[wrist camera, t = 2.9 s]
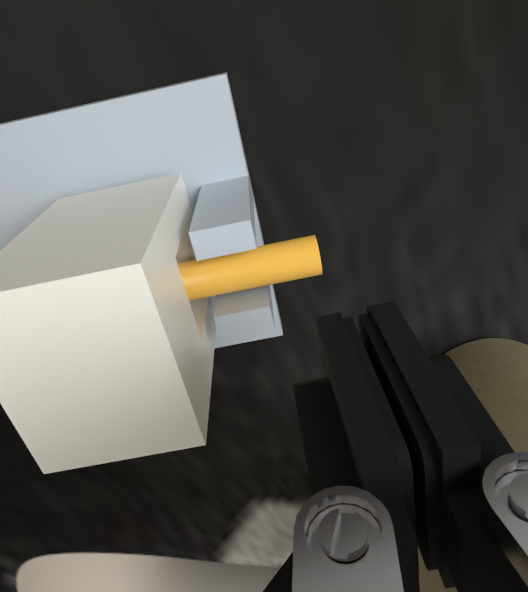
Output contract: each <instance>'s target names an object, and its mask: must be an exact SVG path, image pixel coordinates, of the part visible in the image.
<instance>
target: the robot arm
mask: <svg viewBox="0 0 528 592" xmlns="http://www.w3.org/2000/svg"><path fill="white" fill-rule="evenodd" d="M315 322H316V328H317V334H318V340H319V346H320V351H321V357H322V363H323V369H324V374H325V378H322V379H317V380H312V381H307V382H302V383H297V384H293V388H294V394H295V399H296V405H297V410H298V416H299V421H300V427H301V432H302V438H303V443H304V449H305V454H306V460H307V465H308V471H309V476H310V482H311V487H312V493H313V495H312V496H311V497H310V498H309V499H308V500H307V501H306V502H305V503H304V504H303V505H302V507H301V509H300V511H299V513H298V514H297V516H296V521H295V526H294V540H293V552H292V554H291V555H290V556H289V558H288V559H287V560H286V562H285V563H284V564H283V566H282V567H281V568H280V570H279V571H278V572H277V574H276V575H275V576H274V577H273V579H272V580H271V582H270V583H269V584H268V585H267V587H266V588H265V590H264V591H263V592H420V586H419V560H418V548H419V551H420V553H421V556H422V559H423V562H424V564H425V566H426V568H427V570H428V571H431V570H437V569H438V572H439V574H440V577H441V579H442V582H443V584H444V587H445V589H446V588H452V587H456V589H457V592H528V452H514V450H513V449H512V447H511V446H510V444H509V443H508V441H507V440H506V438H505V437H504V435H503V434H502V433H501V431H500V430H499V428H498V427H497V425H496V424H495V422H494V421H493V419H492V418H491V416H490V415H489V413H488V412H487V410H486V409H485V407H484V406H483V404H482V403H481V401H480V400H479V399H478V397H477V396H476V394H475V393H474V391H473V390H472V388H471V387H470V385H469V384H468V382H467V381H466V379H465V378H464V376H463V375H462V373H461V372H460V370H459V369H458V368H457V366H456V365H455V363H454V362H453V360H452V359H451V358H450V357H449V356H448V355H446V354H442V355H437V356H432V357H427V355H426V353H425V352H424V350H423V348H422V347H421V345H420V343H419V342H418V340H417V338H416V337H415V335H414V333H413V332H412V330H411V329H410V327H409V325H408V324H407V322H406V320H405V319H404V317H403V315H402V314H401V312H400V310H399V309H398V307H397V306H396V304H395V303H394V302H393V301H392V302H387V303H382V304H377V305H372V306H367V314H362V315H359V327H360V335H359V333H358V330H357V328H356V326H355V323H354V321H353V319H352V317H347V318H343V317H342V315H341V313H340V312H338V313H333V314H328V315H323V316H318V317H315ZM360 336H361V337H360Z"/></svg>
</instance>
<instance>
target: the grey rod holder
mask: <svg viewBox="0 0 528 592" xmlns="http://www.w3.org/2000/svg"><path fill="white" fill-rule="evenodd" d="M177 173H181V174H182V178H183V181H184V185H185V188H186V192H187V195H188V199H189V202H190V206H191V209H192V213H193V218H192V221H191V225H190V229H189V232H188V233H189V236H190V240H191V243H192V247H193V250H194V253H195V257H196V259H194V260H189V261H184V262H179V263H177V265H178V268H179V271H180V274H181V277H182V280H183V283H184V287H185V290H186V293H187V296H188V299H189V301H190V300H195V299H200V298H205V297H210V296H215V295H216V298H215V308H214V321H215V324H216V336H215V347H214V348H219V347H224V346H229V345H234V344H239V343H245V342H250V341H255V340H260V339H266V338H271V337H276V336H281V335H283V331H282V324H281V320H280V315H279V310H278V306H277V301H276V297H275V292H274V287H273V284H276V283H281V282H286V281H291V280H296V279H301V278H306V277H311V276H316V275H321V274H322V265H321V259H320V253H319V248H318V244H317V240H316V237H315V235H312V236H307V237H302V238H297V239H292V240H288V241H283V242H278V243H273V244H268V245H264V241H263V237H262V232H261V227H260V223H259V218H258V214H257V209H256V204H255V200H254V195H253V191H252V186H251V181H250V177H249V172H248V167H247V163H246V158H245V154H244V149H243V144H242V140H241V135H240V131H239V126H238V121H237V117H236V112H235V108H234V103H233V98H232V94H231V89H230V85H229V80H228V75H227V72H225V73H221V74H217V75H212V76H208V77H203V78H199V79H194V80H190V81H186V82H181V83H177V84H172V85H168V86H163V87H159V88H155V89H150V90H146V91H141V92H137V93H133V94H128V95H124V96H119V97H115V98H110V99H106V100H102V101H97V102H93V103H88V104H84V105H80V106H75V107H71V108H66V109H62V110H57V111H53V112H49V113H44V114H40V115H35V116H31V117H26V118H22V119H18V120H13V121H9V122H4V123H0V250H2V249H3V248H4V247H5V246H6V245H7V244H8V243H9V242H11V241H12V240H13V239H14V238H15V237H16V236H17V235H19V234H20V233H21V232H22V231H23V230H24V229H25V228H26V227H28V226H29V225H30V224H31V223H32V222H33V221H34V220H35V219H37V218H38V217H39V216H40V215H41V214H42V213H43V212H45V211H46V210H47V209H48V208H49V207H50V206H51V205H52V204H54V203H55V202H56V201H57V200H58V199H60V198H65V197H70V196H74V195H79V194H84V193H88V192H93V191H98V190H102V189H107V188H112V187H116V186H121V185H126V184H130V183H135V182H140V181H144V180H149V179H154V178H158V177H163V176H168V175H172V174H177Z"/></svg>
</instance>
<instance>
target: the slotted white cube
mask: <svg viewBox="0 0 528 592" xmlns="http://www.w3.org/2000/svg"><path fill="white" fill-rule="evenodd" d="M192 218H193V213H192V209H191V206H190V202H189V199H188V195H187V192H186V188H185V185H184V181H183V178H182V174H181V173H177V174H172V175H168V176H163V177H158V178H154V179H149V180H144V181H140V182H135V183H130V184H126V185H121V186H116V187H112V188H107V189H102V190H98V191H93V192H88V193H84V194H79V195H74V196H70V197H65V198H60V199H58V200H57V201H56V202H55V203H54V204H52V205H51V206H50V207H49V208H48V209H47V210H46V211H45V212H43V213H42V214H41V215H40V216H39V217H38V218H37V219H35V220H34V221H33V222H32V223H31V224H30V225H29V226H28V227H26V228H25V229H24V230H23V231H22V232H21V233H20V234H19V235H17V236H16V237H15V238H14V239H13V240H12V241H11V242H9V243H8V244H7V245H6V246H5V247H4V248H3V249H2V250H0V404H1V405H2V407H3V408H4V410H5V412H6V413H7V415H8V417H9V418H10V420H11V421H12V423H13V425H14V426H15V428H16V430H17V431H18V433H19V435H20V436H21V438H22V439H23V441H24V443H25V444H26V446H27V448H28V449H29V451H30V452H31V454H32V456H33V457H34V459H35V461H36V462H37V464H38V466H39V467H40V469H41V470H42V472H43V474H47V473H53V472H59V471H64V470H70V469H75V468H81V467H87V466H92V465H98V464H103V463H109V462H114V461H120V460H126V459H131V458H137V457H142V456H148V455H153V454H159V453H165V452H170V451H176V450H181V449H187V448H192V447H198V446H204V445H206V438H207V427H208V415H209V404H210V393H211V381H212V370H213V358H214V347H215V336H216V324H215V321H214V308H215V298H216V295H215V296H210V297H205V298H200V299H195V300H190V301H189V299H188V296H187V293H186V290H185V287H184V283H183V280H182V277H181V274H180V271H179V268H178V265H177V263H179V262H184V261H189V260H194V259H196V257H195V253H194V250H193V247H192V243H191V240H190V236H189V233H188V232H189V229H190V225H191V221H192Z"/></svg>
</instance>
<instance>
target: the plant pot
mask: <svg viewBox="0 0 528 592" xmlns="http://www.w3.org/2000/svg"><path fill="white" fill-rule="evenodd" d="M445 354H446V355H448V356H449V357H450V358H451V359H452V360H453V362H454V363H455V365H456V366H457V368H458V369H459V370H460V372H461V373H462V375H463V376H464V378H465V379H466V381H467V382H468V384H469V385H470V387H471V388H472V390H473V391H474V393H475V394H476V396H477V397H478V399H479V400H480V401H481V403H482V404H483V406H484V407H485V409H486V410H487V412H488V413H489V415H490V416H491V418H492V419H493V421H494V422H495V424H496V425H497V427H498V428H499V430H500V431H501V433H502V434H503V435H504V437H505V438H506V440H507V441H508V443H509V444H510V446H511V447H512V449H513V450H514V452H528V345H526V344H523V343H520V342H517V341H514V340H510V339H502V338H487V339H480V340H476V341H472V342H468V343H465V344H463V345H460V346H458V347H456V348H454V349H452V350H450V351H448V352H446V353H445ZM418 560H419V586H420V592H457V589H456V587H452V588H446V589H445V587H444V584H443V582H442V579H441V577H440V574H439V572H438V569H437V570H431V571H428V570H427V568H426V566H425V564H424V562H423V559H422V556H421V553H420V551H419V548H418Z"/></svg>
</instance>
